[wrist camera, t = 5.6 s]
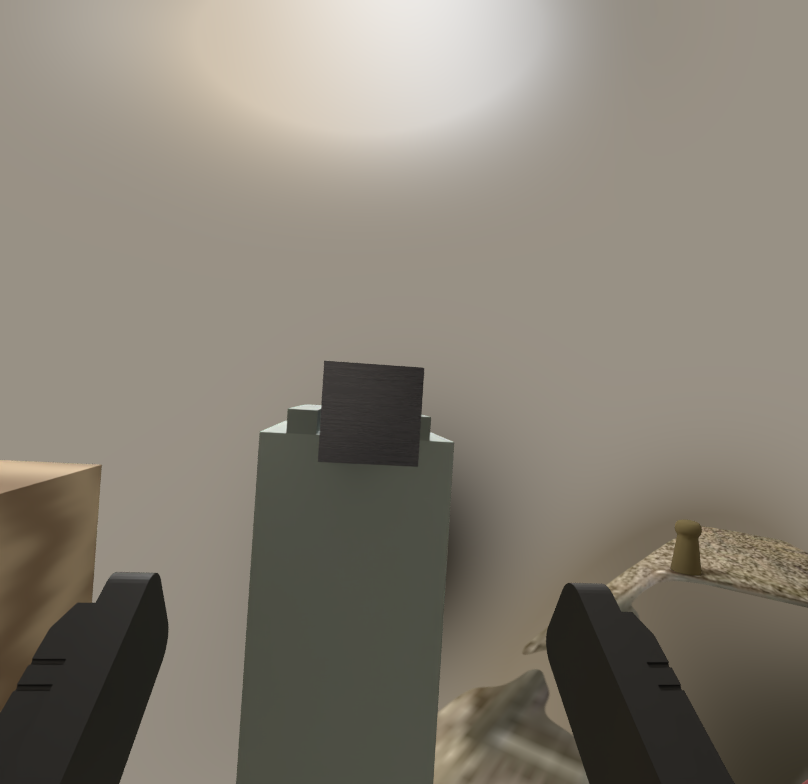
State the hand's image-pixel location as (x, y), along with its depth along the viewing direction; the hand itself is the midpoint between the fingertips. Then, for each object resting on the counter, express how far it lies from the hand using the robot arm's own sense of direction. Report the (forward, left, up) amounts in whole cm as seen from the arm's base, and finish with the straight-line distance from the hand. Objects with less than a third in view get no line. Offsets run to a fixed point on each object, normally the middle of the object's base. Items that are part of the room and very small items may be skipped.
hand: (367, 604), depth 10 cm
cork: (-76, -96, -30) cm, 126 cm away
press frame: (0, -16, -29) cm, 34 cm away
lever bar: (0, -13, +3) cm, 14 cm away
